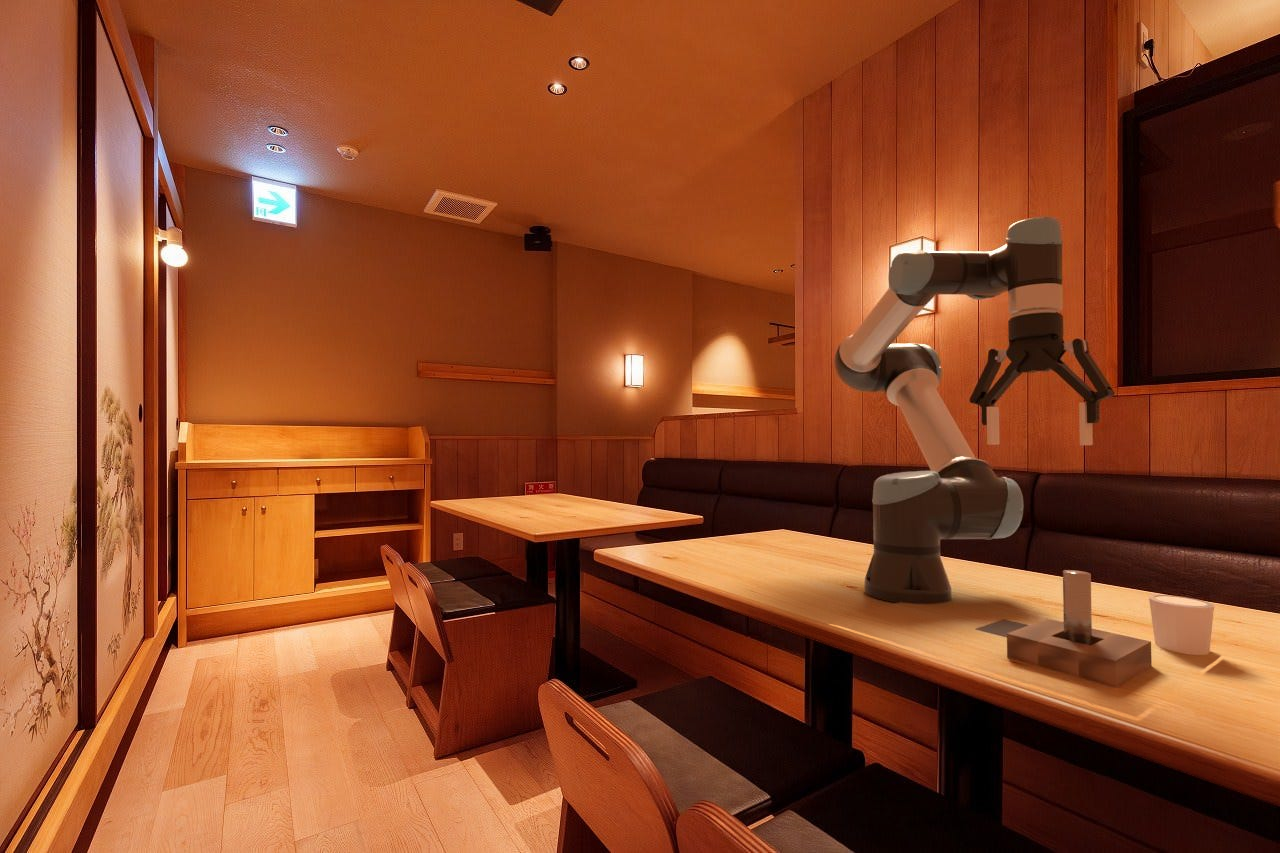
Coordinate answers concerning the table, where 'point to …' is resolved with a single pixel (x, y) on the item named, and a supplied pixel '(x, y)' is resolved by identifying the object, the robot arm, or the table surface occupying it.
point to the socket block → (1080, 653)
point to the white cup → (1182, 623)
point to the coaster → (1002, 627)
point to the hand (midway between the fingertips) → (1037, 445)
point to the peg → (1077, 606)
